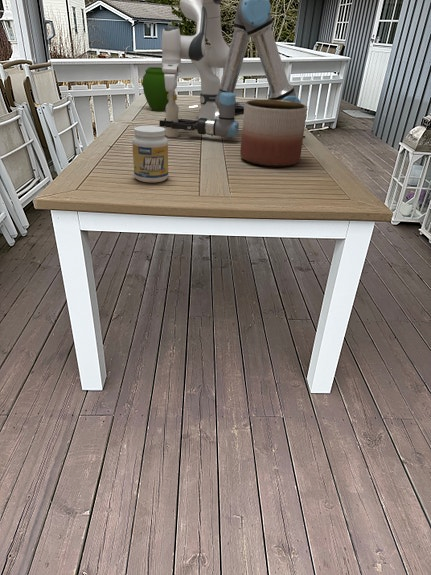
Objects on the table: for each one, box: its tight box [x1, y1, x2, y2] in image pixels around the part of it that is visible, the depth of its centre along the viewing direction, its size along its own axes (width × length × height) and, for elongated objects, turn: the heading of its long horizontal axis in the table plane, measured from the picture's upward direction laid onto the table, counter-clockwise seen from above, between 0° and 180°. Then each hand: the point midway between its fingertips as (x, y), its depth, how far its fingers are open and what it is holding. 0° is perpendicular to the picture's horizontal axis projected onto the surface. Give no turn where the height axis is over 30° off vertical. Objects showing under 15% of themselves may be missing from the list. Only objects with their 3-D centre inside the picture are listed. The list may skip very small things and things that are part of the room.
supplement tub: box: [131, 125, 169, 183], centre depth 142 cm, size 12×12×17 cm
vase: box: [141, 66, 169, 112], centre depth 261 cm, size 20×20×24 cm
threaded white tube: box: [165, 100, 180, 138], centre depth 201 cm, size 6×6×18 cm
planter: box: [240, 99, 308, 168], centre depth 169 cm, size 25×25×22 cm
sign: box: [235, 101, 246, 114], centre depth 284 cm, size 19×3×30 cm
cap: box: [167, 93, 178, 101], centre depth 197 cm, size 4×4×2 cm
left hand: (171, 99), depth 197 cm, fingers closed on cap, 4 cm apart
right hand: (162, 122), depth 204 cm, fingers closed on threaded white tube, 6 cm apart
